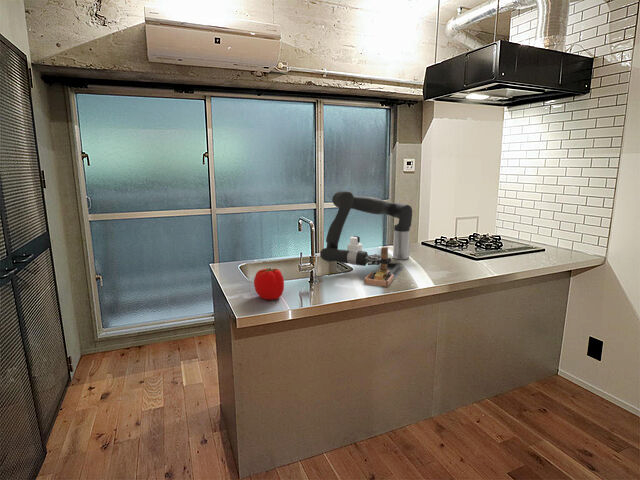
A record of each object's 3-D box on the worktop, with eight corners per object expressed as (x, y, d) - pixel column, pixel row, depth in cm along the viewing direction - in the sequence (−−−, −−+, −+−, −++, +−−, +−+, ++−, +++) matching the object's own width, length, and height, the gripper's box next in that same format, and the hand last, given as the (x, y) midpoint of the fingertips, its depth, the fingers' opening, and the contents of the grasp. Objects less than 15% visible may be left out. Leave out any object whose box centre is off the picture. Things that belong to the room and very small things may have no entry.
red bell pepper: (275, 305, 162) (275, 274, 159) (247, 301, 167) (246, 270, 164) (292, 293, 176) (291, 264, 173) (265, 289, 181) (264, 261, 178)
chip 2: (376, 280, 193) (376, 272, 192) (384, 281, 192) (384, 273, 191) (374, 282, 189) (374, 275, 189) (382, 283, 188) (382, 276, 187)
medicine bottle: (352, 253, 249) (352, 234, 246) (362, 254, 245) (362, 236, 243) (347, 255, 243) (347, 236, 240) (357, 257, 239) (357, 238, 237)
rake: (380, 273, 203) (381, 245, 200) (390, 274, 201) (391, 246, 198) (377, 276, 197) (378, 248, 194) (386, 278, 195) (388, 249, 192)
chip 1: (378, 277, 197) (378, 269, 196) (386, 278, 195) (386, 270, 194) (376, 279, 193) (376, 272, 192) (384, 280, 192) (384, 272, 191)
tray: (371, 277, 198) (371, 271, 198) (393, 280, 194) (393, 274, 193) (364, 285, 187) (364, 278, 186) (387, 288, 183) (387, 281, 182)
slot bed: (380, 266, 219) (380, 261, 218) (403, 269, 214) (403, 264, 213) (369, 277, 199) (370, 272, 198) (394, 280, 194) (395, 275, 193)
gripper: (353, 254, 196) (387, 257, 189) (361, 248, 208) (393, 251, 202) (353, 268, 197) (386, 272, 191) (361, 261, 210) (392, 264, 203)
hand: (389, 261), depth 196 cm, fingers closed on rake, 3 cm apart
